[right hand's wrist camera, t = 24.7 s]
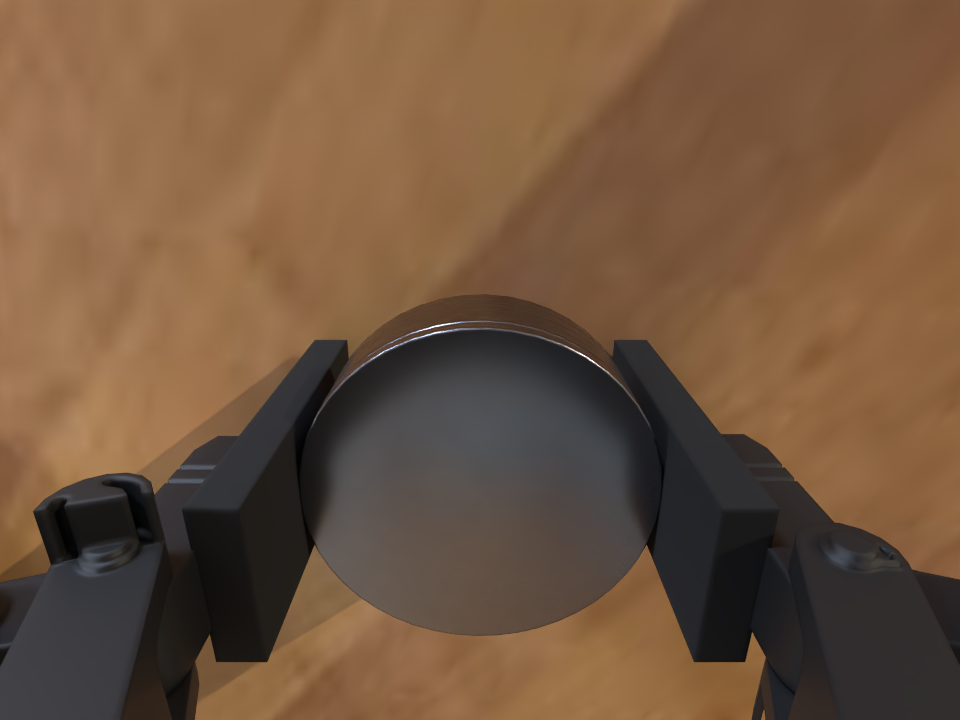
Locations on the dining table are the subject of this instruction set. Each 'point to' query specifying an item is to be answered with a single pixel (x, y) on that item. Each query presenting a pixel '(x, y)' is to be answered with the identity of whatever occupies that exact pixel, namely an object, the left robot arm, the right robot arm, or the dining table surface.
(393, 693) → the dining table surface
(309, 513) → the lid
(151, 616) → the right robot arm
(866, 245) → the dining table surface
